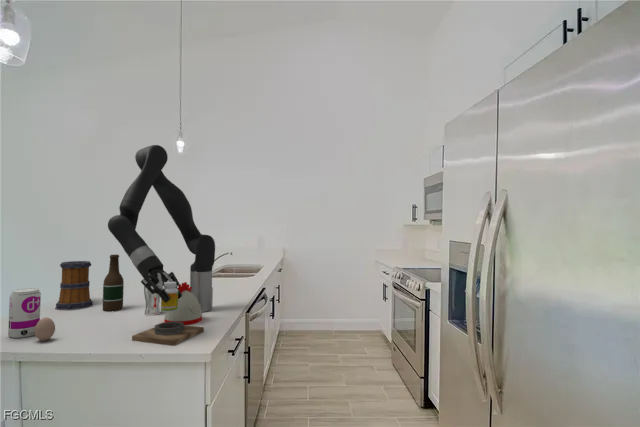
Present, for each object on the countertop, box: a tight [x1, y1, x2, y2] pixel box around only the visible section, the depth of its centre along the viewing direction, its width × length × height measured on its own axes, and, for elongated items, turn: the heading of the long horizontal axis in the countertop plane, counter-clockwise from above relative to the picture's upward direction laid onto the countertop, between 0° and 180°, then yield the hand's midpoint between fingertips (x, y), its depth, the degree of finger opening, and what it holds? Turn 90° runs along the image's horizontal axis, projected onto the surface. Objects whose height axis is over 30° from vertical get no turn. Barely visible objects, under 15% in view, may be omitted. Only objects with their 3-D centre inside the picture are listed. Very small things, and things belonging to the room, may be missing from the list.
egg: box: [34, 316, 56, 342], centre depth 118 cm, size 5×5×7 cm
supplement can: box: [7, 287, 42, 339], centre depth 124 cm, size 8×8×15 cm
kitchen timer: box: [163, 281, 203, 326], centre depth 144 cm, size 14×14×15 cm
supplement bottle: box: [160, 281, 178, 314], centre depth 125 cm, size 5×5×10 cm
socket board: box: [131, 322, 205, 346], centre depth 125 cm, size 16×16×4 cm
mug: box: [54, 260, 94, 311], centre depth 168 cm, size 19×14×20 cm
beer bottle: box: [102, 254, 125, 313], centre depth 161 cm, size 8×8×24 cm
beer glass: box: [143, 285, 161, 316], centre depth 155 cm, size 7×7×15 cm
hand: (174, 299), depth 125 cm, fingers closed on supplement bottle, 5 cm apart
